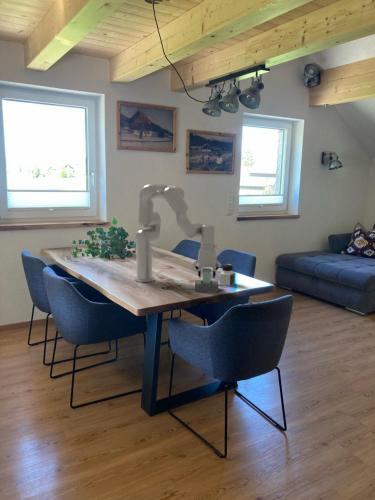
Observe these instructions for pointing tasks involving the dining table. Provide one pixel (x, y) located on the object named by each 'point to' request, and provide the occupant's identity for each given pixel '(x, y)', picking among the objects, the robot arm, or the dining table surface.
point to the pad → (188, 287)
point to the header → (206, 286)
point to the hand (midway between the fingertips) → (206, 277)
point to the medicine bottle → (227, 275)
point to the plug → (206, 276)
